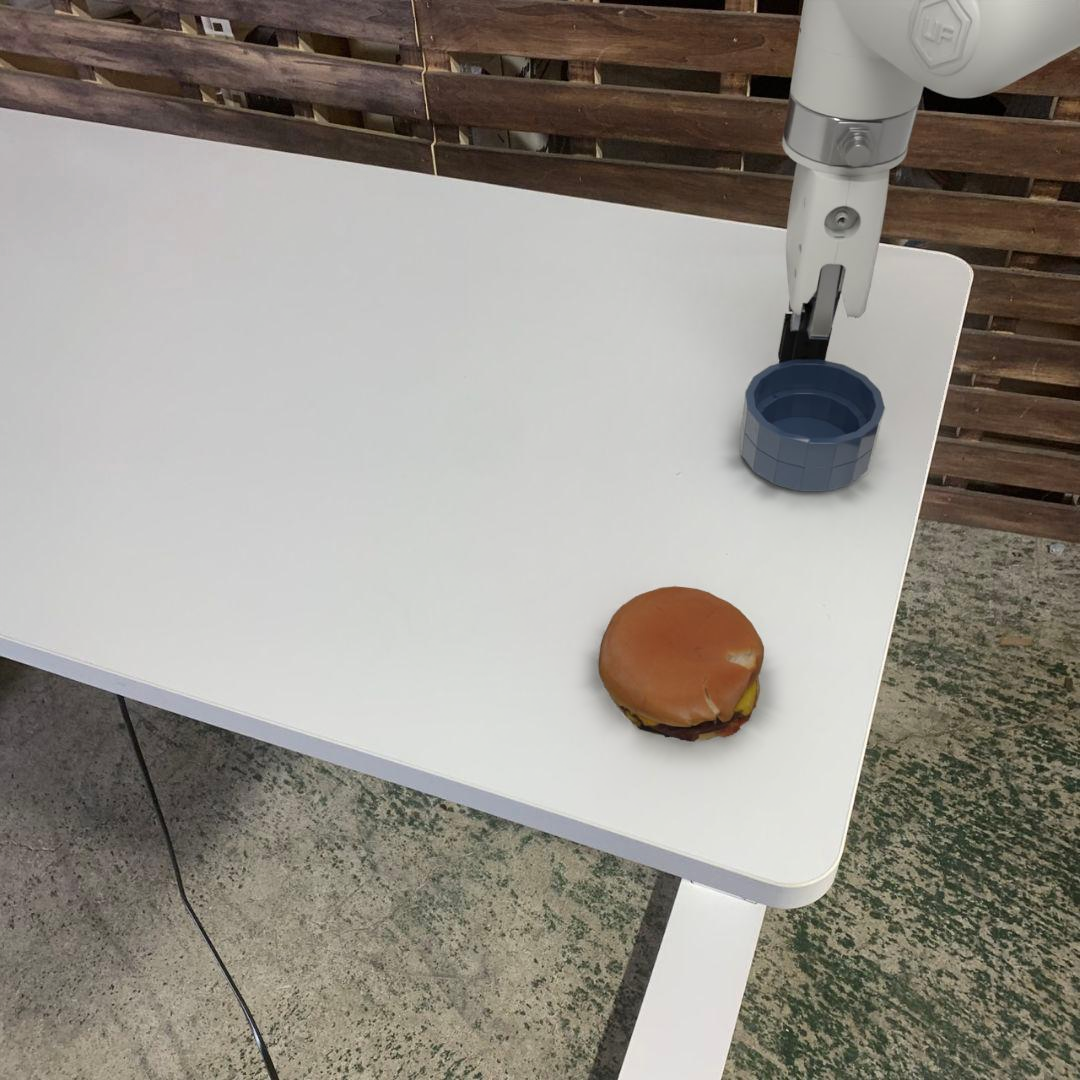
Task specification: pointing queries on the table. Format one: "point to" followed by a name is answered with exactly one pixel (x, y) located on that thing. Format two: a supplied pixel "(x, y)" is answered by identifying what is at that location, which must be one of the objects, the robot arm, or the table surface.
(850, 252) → the robot arm
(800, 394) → the bowl
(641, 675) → the burger
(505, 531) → the table surface
